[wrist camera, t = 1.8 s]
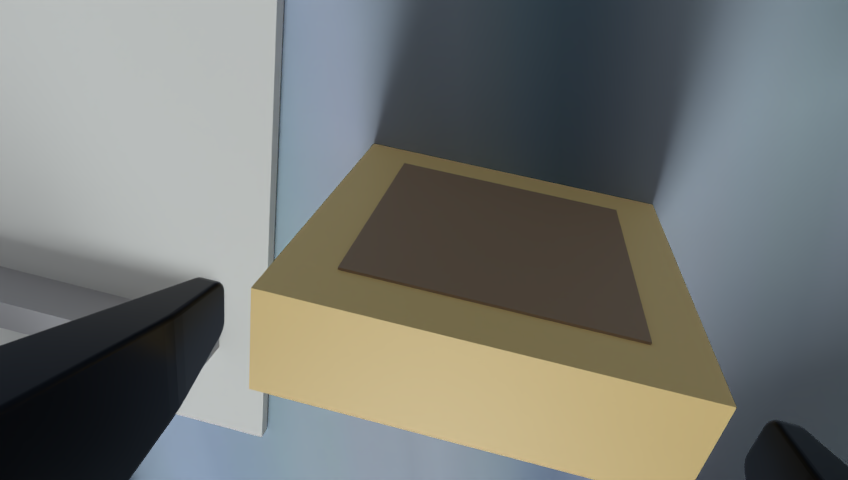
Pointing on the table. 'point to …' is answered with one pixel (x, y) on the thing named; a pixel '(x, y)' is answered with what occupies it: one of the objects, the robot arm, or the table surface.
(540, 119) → the table surface
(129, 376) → the robot arm
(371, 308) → the tile
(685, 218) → the table surface
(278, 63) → the mat
